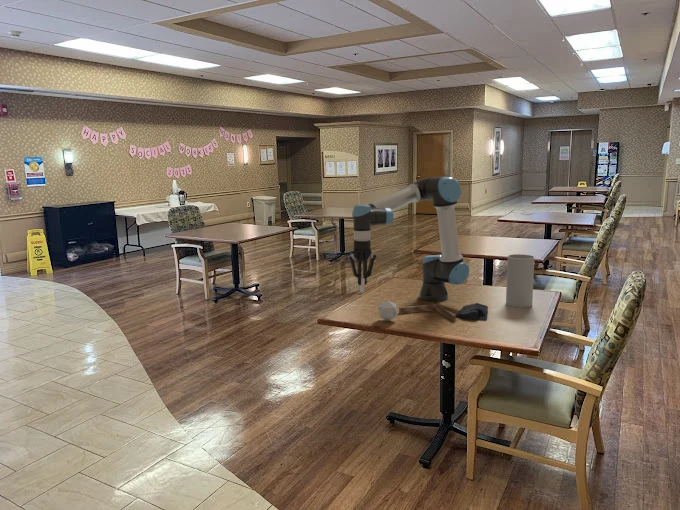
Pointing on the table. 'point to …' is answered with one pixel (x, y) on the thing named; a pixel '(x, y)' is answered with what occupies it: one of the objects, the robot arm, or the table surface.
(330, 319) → the table surface
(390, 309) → the die
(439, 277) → the robot arm
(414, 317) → the table surface
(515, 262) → the cylinder vase
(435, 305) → the rest corner
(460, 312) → the dark slate chunk
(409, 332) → the table surface
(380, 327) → the table surface
